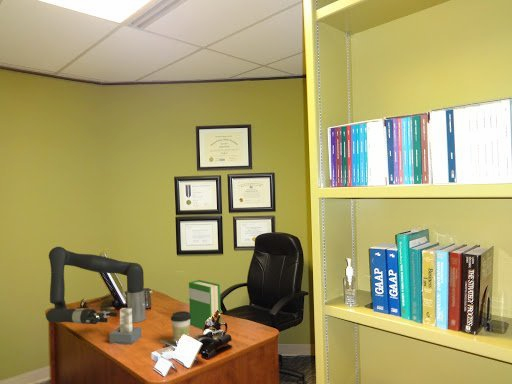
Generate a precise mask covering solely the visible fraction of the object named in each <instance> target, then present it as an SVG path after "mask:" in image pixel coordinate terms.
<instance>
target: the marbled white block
mask: <svg viewBox="0 0 512 384" xmlns="http://www.w3.org/2000/svg"><path fill="white" fill-rule="evenodd" d="M119 325H120V326H119V327H120V332H127V333H129V332H131V331H132V330H133V329H132V327H133V323H132V308H128V307H121V308H120V309H119Z"/></svg>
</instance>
